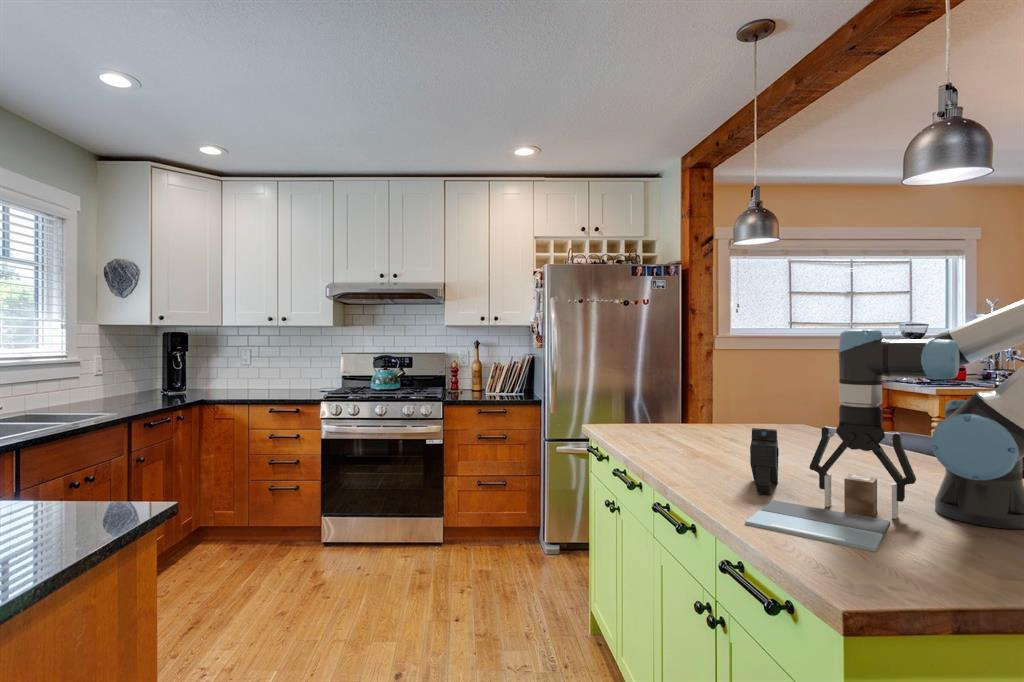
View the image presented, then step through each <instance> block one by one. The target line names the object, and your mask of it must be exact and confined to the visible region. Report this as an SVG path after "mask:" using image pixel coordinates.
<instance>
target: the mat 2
mask: <svg viewBox="0 0 1024 682" xmlns="http://www.w3.org/2000/svg"><path fill="white" fill-rule="evenodd" d="M744 525H747V526H752V527H756V528H760V529H766V530H770V529H771V530H770V531H774V530H776V532H779V531H780V533H785V534H789V535H794V536H798V537H804V538H808V539H813V540H818V541H822V542H827V543H832V544H837V545H842V546H846V547H852V548H855V549H861V550H865V551H871V552H874V553H876V551H877V550H878V548H879V546H880V544H881V542H882V540H883V538H884V536H883V534H881V533H876V532H871V531H866V530H860V529H855V528H850V527H845V526H839V525H834V524H829V523H824V522H819V521H813V520H808V519H803V518H798V517H792V516H787V515H782V514H777V513H772V512H766V511H761V509H760V510H758V511H757V512H755V513H754V514H753V515H751V516H750V517H749V518H747V519H746V520H744Z"/></svg>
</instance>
